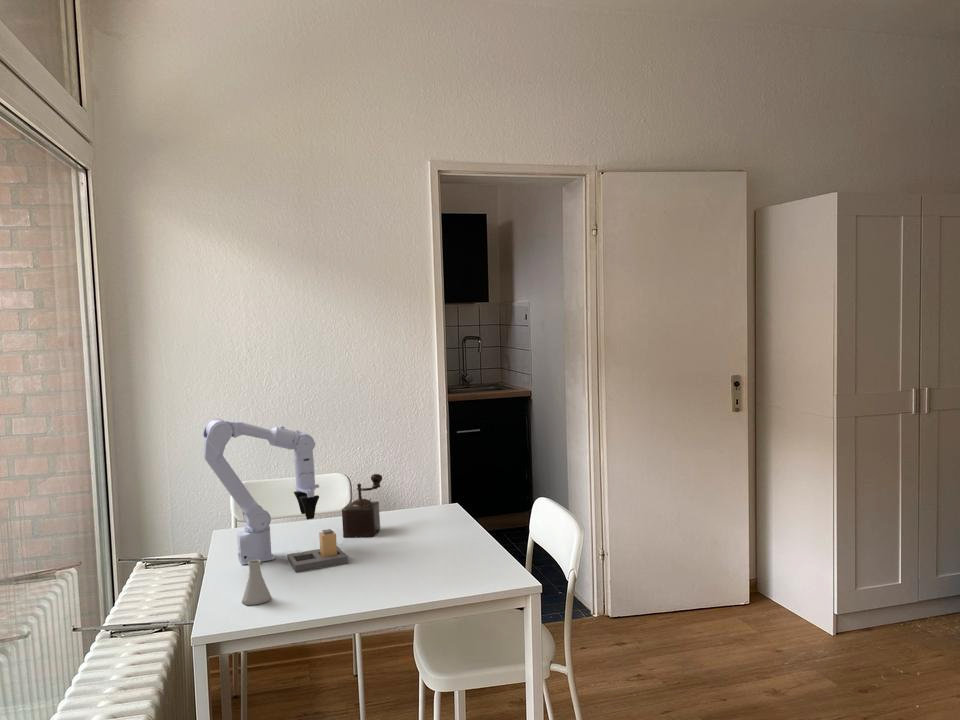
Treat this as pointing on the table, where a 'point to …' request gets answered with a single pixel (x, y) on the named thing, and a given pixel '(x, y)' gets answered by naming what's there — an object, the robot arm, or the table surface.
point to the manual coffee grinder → (362, 514)
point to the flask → (255, 586)
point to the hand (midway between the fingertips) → (307, 516)
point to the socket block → (315, 560)
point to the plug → (328, 543)
